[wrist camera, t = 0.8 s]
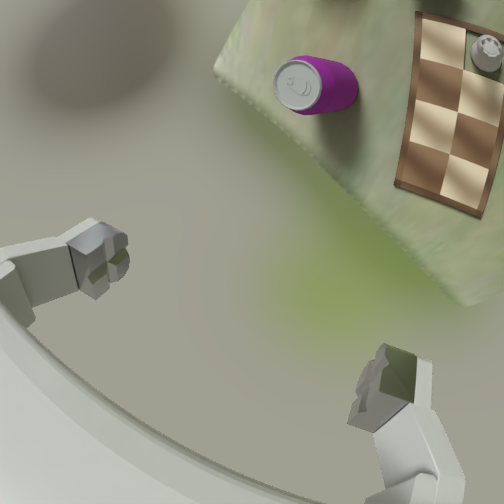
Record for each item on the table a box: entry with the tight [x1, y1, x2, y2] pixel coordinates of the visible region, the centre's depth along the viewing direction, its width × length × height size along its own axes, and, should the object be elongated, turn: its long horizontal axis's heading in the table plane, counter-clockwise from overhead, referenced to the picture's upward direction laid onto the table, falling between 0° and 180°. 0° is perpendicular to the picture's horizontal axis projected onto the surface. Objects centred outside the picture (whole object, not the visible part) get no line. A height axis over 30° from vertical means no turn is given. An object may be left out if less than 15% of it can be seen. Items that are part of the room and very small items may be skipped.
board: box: [394, 11, 504, 218], centre depth 31 cm, size 26×14×1 cm, turn 178°
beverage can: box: [273, 55, 358, 115], centre depth 36 cm, size 8×8×12 cm
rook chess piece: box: [470, 35, 503, 72], centre depth 22 cm, size 4×4×8 cm
